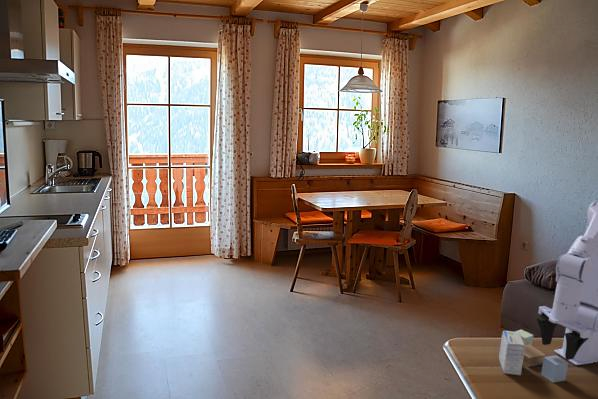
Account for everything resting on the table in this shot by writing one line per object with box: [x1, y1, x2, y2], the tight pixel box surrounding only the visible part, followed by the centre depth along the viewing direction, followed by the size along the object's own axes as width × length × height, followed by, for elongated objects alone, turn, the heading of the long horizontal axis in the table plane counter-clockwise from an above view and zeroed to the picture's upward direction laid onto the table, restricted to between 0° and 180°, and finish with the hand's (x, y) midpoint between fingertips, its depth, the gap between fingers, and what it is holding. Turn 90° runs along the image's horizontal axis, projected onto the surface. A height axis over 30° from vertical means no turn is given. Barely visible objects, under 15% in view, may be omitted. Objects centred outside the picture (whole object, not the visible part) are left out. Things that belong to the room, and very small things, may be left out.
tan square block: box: [522, 344, 547, 368], centre depth 145 cm, size 6×6×3 cm
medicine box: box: [498, 330, 525, 376], centre depth 139 cm, size 8×4×9 cm, turn 168°
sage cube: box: [514, 329, 534, 346], centre depth 152 cm, size 4×4×4 cm
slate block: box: [540, 354, 569, 383], centre depth 136 cm, size 4×4×5 cm
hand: (557, 351), depth 135 cm, fingers open, 7 cm apart
